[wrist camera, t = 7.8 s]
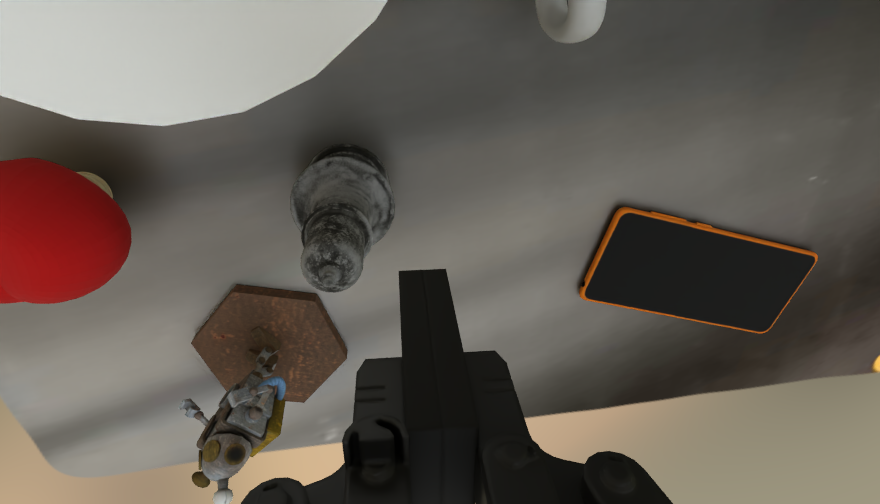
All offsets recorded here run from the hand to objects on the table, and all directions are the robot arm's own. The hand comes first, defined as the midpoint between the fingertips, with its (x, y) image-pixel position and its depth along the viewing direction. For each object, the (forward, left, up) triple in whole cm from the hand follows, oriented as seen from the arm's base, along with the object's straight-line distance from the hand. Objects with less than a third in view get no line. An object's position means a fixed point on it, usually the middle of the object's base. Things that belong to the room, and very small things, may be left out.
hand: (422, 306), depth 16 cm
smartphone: (+9, +21, -17) cm, 29 cm away
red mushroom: (+2, -19, -17) cm, 25 cm away
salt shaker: (+2, -4, -17) cm, 17 cm away
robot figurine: (+14, -10, -17) cm, 24 cm away
